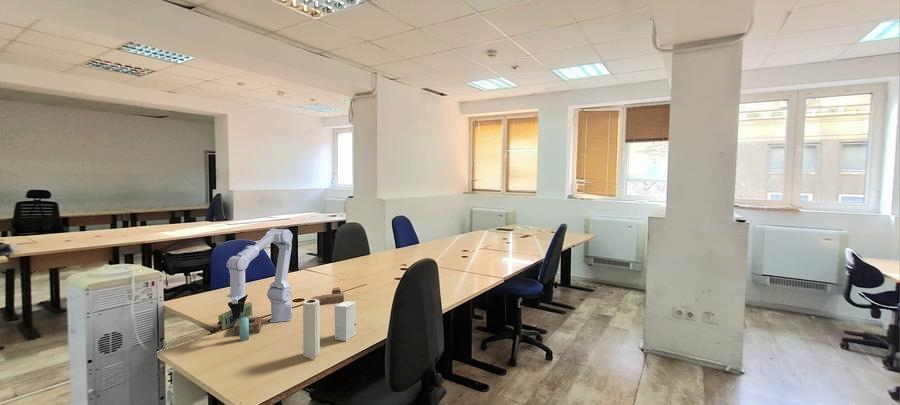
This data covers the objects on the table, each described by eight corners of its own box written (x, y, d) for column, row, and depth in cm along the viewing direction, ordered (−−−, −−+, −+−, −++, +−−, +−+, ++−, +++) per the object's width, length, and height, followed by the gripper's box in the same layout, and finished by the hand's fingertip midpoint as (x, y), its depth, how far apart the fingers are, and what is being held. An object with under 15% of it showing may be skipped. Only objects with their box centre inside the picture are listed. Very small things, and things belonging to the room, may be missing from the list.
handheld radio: (253, 315, 194) (214, 335, 170) (247, 315, 195) (207, 334, 171) (253, 302, 194) (213, 320, 170) (247, 302, 195) (206, 319, 170)
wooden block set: (345, 293, 216) (311, 297, 209) (345, 303, 216) (311, 307, 209) (341, 285, 231) (308, 288, 224) (341, 294, 232) (309, 298, 224)
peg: (249, 337, 168) (249, 316, 167) (248, 340, 164) (247, 319, 164) (240, 338, 166) (240, 317, 166) (239, 341, 163) (238, 320, 163)
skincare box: (346, 341, 164) (346, 307, 164) (333, 339, 166) (333, 305, 165) (356, 334, 172) (356, 301, 172) (344, 332, 174) (344, 299, 173)
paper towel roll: (307, 350, 155) (306, 298, 154) (322, 351, 155) (321, 298, 154) (299, 359, 148) (299, 304, 147) (315, 359, 148) (314, 304, 147)
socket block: (262, 324, 182) (262, 316, 181) (259, 333, 172) (259, 324, 172) (238, 327, 178) (237, 318, 178) (233, 335, 169) (233, 326, 169)
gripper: (231, 280, 172) (231, 310, 173) (223, 289, 158) (223, 322, 159) (248, 279, 174) (249, 309, 175) (242, 288, 161) (243, 320, 161)
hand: (238, 315), depth 167 cm, fingers open, 7 cm apart
